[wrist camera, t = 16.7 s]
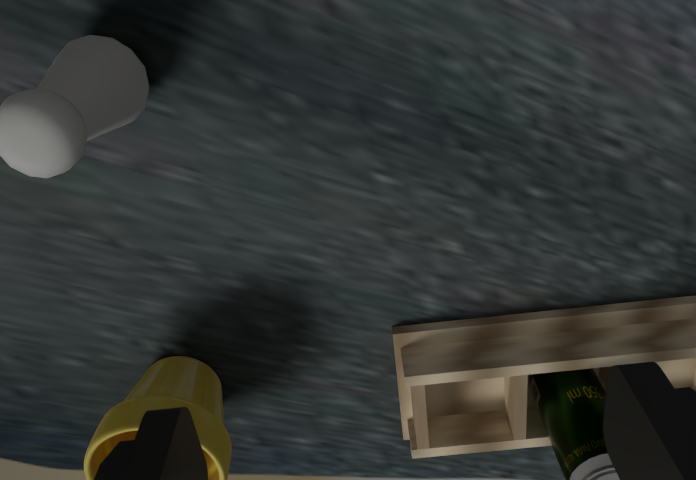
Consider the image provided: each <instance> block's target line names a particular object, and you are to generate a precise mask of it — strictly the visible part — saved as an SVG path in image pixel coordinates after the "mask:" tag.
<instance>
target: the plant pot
mask: <svg viewBox="0 0 696 480" xmlns="http://www.w3.org/2000/svg"><path fill="white" fill-rule="evenodd" d="M178 407H187V408H188V409H189V411H190V413H191V416H192V419H193V422H194V425H195V428H196V431H197V434H198V437H199V441H200V444H201V447H202V450H203V453H204V456H205V459H206V463H207V469H208V480H227V477H228V472H229V466H230V458H231V441H230V437H229V434H228V432H227V430H226V428H225V427H224V419H223V400H222V387H221V382H220V379H219V377H218V376H217V374H216V373H215V372H214V371H213V369H212V368H210V367H209V366H208V365H206V364H205V363H203V362H201V361H199V360H197V359H194V358H190V357H185V356H172V357H167V358H164V359H161V360H159V361H157V362H155V363H154V364H153V365H152V366H151V367H150V368H149V369H148V370H147V372H146V373H145V374H144V376H143V377H142V378H141V379H140V381H139V382H138V383H137V385H136V386H135V387H134V389H133V390H132V391H131V392H130V394H129V395H128V396H127V398H126V399H125V400H124V401H123V402H121V403H119V404H117V405H116V406H114V407H113V408H112V409H110V410H109V411H108V412H107V413H106V415H105V416H104V417H103V419H102V420H101V422H100V424H99V426H98V428H97V430H96V432H95V434H94V436H93V438H92V440H91V442H90V444H89V447H88V449H87V452H86V455H85V458H84V472H85V476H86V478H87V480H94V478H95V475H96V473H97V471H98V468H99V466H100V464H101V463H102V461H103V460H104V459H105V458H106V457H107V456H108V454H109V453H110V452H111V451H112V450H113V449H114V447H115V446H116V445H117V444H118V443H119V442H120V441H127V440H134V439H135V437H136V434H137V431H138V428H139V426H140V423H141V420H142V418H143V415H144V414H145V412H146V411H148V410H158V409H168V408H178Z"/></svg>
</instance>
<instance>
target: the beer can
mask: <svg viewBox="0 0 696 480" xmlns="http://www.w3.org/2000/svg"><path fill="white" fill-rule="evenodd" d="M530 390H531V392H532V395H533V397H534V400H535V403H536V405H537V408H538V410H539V413H540V415H541V418H542V421H543V423H544V426H545V428H546V431H547V434H548V436H549V439H550V441H551V444H552V447H553V449H554V452H555V454H556V457H557V460H558V462H559V465H560V467H561V470H562V473H563V475H564V478H565V480H620V479H619V477H618V475H617V472H616V470H615V468H614V466H613V464H612V462H611V460H610V458H609V455H608V452H607V449H606V445H605V440H604V433H603V421H604V411H605V402H606V392H605V390H604V388H603V386H602V384H601V383H600V381H599V379H598V377H597V375H596V373H595V371H594V369H593V368H590V369H580V370H570V371H560V372H550V373H540V374H531V377H530Z"/></svg>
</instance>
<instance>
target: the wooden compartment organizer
mask: <svg viewBox="0 0 696 480" xmlns="http://www.w3.org/2000/svg"><path fill="white" fill-rule="evenodd" d="M392 333H393V343H394V352H395V362H396V372H397V381H398V391H399V401H400V410H401V420H402V430H403V438H404V440H410V446H411V453H412V459H413V458H423V457H434V456H445V455H455V454H466V453H476V452H487V451H497V450H508V449H519V448H529V447H540V446H550V445H552V444H551V441H550V439H549V436H548V434H547V431H546V428H545V426H544V423H543V421H542V418H541V415H540V413H539V410H538V408H537V405H536V403H535V400H534V397H533V395H532V392H531V390H530V377H531V374H540V373H550V372H560V371H570V370H580V369H590V368H593V369H594V371H595V373H596V375H597V377H598V379H599V381H600V383H601V384H602V386H603V388H604V390H605V392H606V393H607V384H608V375H609V370H610V368H611V367H612V366H614V365H624V364H634V363H644V362H655V363H657V364H658V365H659V366H660V368H661V369H662V370H663V372H664V373H665V375H666V376H667V378H668V379H669V381H670V382H671V384H672V385H673V387H674V388H685V387H691V388H692V389H693V390H695V391H696V295H695V296H685V297H675V298H666V299H656V300H646V301H637V302H627V303H617V304H608V305H598V306H588V307H579V308H569V309H559V310H550V311H540V312H531V313H521V314H511V315H502V316H492V317H482V318H473V319H463V320H453V321H444V322H434V323H424V324H415V325H405V326H396V327H392Z"/></svg>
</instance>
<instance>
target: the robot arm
mask: <svg viewBox="0 0 696 480" xmlns="http://www.w3.org/2000/svg"><path fill="white" fill-rule="evenodd" d="M603 433H604V440H605V445H606V449H607V452H608V455H609V458H610V460H611V462H612V464H613V466H614V468H615V470H616V472H617V475H618V477H619V479H620V480H696V391H695V390H693V389H692V388H691V387H685V388H674V387H673V385H672V384H671V382H670V381H669V379H668V378H667V376H666V375H665V373H664V372H663V370H662V369H661V368H660V366H659V365H658V364H657V363H655V362H644V363H634V364H624V365H614V366H612V367H611V368H610V370H609V375H608V384H607V393H606V402H605V411H604V421H603ZM94 480H208V469H207V463H206V459H205V456H204V453H203V450H202V447H201V444H200V441H199V437H198V434H197V431H196V428H195V425H194V422H193V419H192V416H191V413H190V411H189V409H188V408H187V407H178V408H168V409H158V410H148V411H146V412H145V414H144V415H143V418H142V420H141V423H140V426H139V428H138V431H137V434H136V437H135V439H134V440H127V441H120V442H119V443H118V444H117V445H116V446H115V447H114V449H113V450H112V451H111V452H110V453H109V454H108V456H107V457H106V458H105V459H104V460H103V461H102V463H101V464H100V466H99V468H98V471H97V473H96V475H95V478H94Z"/></svg>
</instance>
